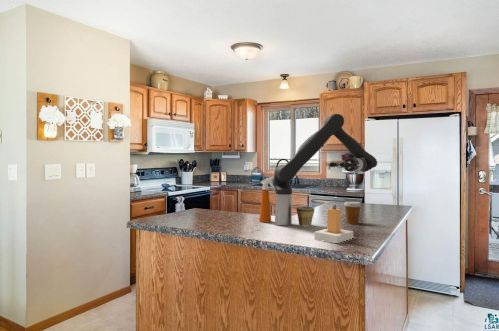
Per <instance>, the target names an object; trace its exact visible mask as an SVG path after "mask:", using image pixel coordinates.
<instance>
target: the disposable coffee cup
mask: <svg viewBox="0 0 499 331" xmlns="http://www.w3.org/2000/svg"><path fill="white" fill-rule="evenodd" d="M343 206H344V210H345V219H346V224H348V223H349V224H348V225H359V220H360V219H359V218H360V211H361V206H362V204H361V202H359V201H352V200H348V201H347V200H346V201H345V202H344V204H343Z"/></svg>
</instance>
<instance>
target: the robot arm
mask: <svg viewBox="0 0 499 331" xmlns="http://www.w3.org/2000/svg"><path fill="white" fill-rule="evenodd" d="M323 124H324V125H322V127H321V128H320V129H318V130H316V132H314V133H313V134H311V135H310V136H309V137H308V138H306V139H305V141H304V142H303V143H302V144H300V146H299V147H298V149H297V151H296V153H295V154H294V156H293V157H292V158H291V160H289V161H288V162H287V163H285V164H281V165H278V166H277V167H275V170H274V173H273V177H274V179H273V185H274V187H275V190H274V191H275V207H274V216H275V217H274V225H276V226H291V225H292V224H293V223H292V222H293V216H292V214H293V213H292V212H293V189H292V187H291V181H292V180H293V179H294V178H295V176H297V174H298V173H299V171H300V170H301V169H302V168H303V166H304V165H306V164H307V162H309V161H310V160H311V159H312V158H313V157H314V156H315V155H316V154H317V153H318V152H319V151H320V149H321V148H322V147H323V146H324V145H325V144H326V143H327V141H328V140H330V139H331V137H332V136H334V137H335V138H336V139H337V140H338V141H340V143H342V144H343V146H344V147H345V148H346V150H348V152H349V153H350V154H351V155H352V157H347V158H345V159H344V160H342V161H336V162H335V161H331V162H329V167H330V168H337V169H344V170H345V172H359V171H361V172H362V173H366V172H368V171H370V170H372V169H375V168H376V167H377V165H378V160H377V159H376V157H375V156H373V155H372V154H370V153H369V152H368V151H366V150H365V148H363V147H362V145H361V144H360V143H359V142H358V141H357V140H356V139H355V138H354V137H352V136H350V134H348V132H346V131H345V130H344V128H343V126H344V124H345V117H344V116H343V115H342V114H339V113H333V114H331V115H329V116H327V117H326V118H325V119H324V123H323Z"/></svg>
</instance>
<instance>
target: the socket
mask: <svg viewBox="0 0 499 331" xmlns="http://www.w3.org/2000/svg"><path fill="white" fill-rule="evenodd" d="M352 238H353V239H354V231H353V230H348V229H347V230H346V229H343V228H341V233H338V234H334V233H329V232H327V228H324V229H320V230H317V231H314V240H316V239H319V240H318V241H320V240H324V241H323V242H325V241H329V242H333V243H332V244H334V243H339V244H341V243H340V242H342V243H344V242H343V241H345V242H347V241H346V240H348V241H350V240H349V239H351V240H353V239H352ZM329 242H328V243H329Z"/></svg>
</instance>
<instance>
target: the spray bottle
mask: <svg viewBox="0 0 499 331" xmlns="http://www.w3.org/2000/svg"><path fill="white" fill-rule="evenodd" d="M260 184H261V185H262V189H261V200H260V209H259V210H260V211H259V217H258V221H259V222H260V223H270V222H272V215H271V214H272V213H271V203H270V192H269V185H270V186H271V188H272V189H273V190H274V191H275V185H274V176H270V177H267V178H264V179H261V181H260Z"/></svg>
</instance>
